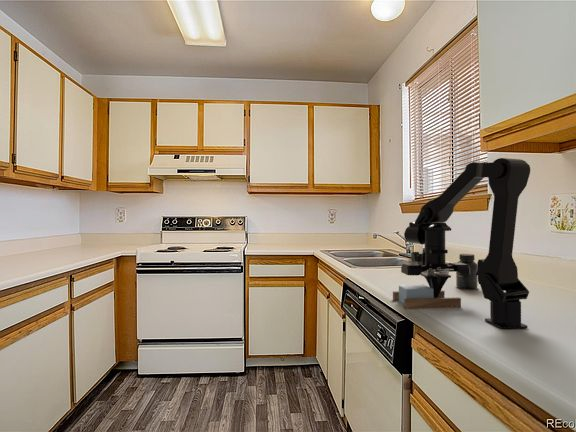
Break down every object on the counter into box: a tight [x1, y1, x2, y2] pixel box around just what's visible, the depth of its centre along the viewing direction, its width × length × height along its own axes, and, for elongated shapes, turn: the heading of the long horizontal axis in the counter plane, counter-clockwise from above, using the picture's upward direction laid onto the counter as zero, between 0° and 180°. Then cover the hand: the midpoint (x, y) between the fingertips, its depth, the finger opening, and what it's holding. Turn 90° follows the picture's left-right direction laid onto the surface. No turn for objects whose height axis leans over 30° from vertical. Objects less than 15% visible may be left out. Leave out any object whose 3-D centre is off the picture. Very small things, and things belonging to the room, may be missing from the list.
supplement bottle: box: [455, 253, 479, 291], centre depth 123 cm, size 7×7×12 cm
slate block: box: [398, 284, 434, 305], centre depth 103 cm, size 6×8×5 cm
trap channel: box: [392, 289, 462, 309], centre depth 103 cm, size 10×16×2 cm, turn 93°
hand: (435, 297), depth 103 cm, fingers closed
